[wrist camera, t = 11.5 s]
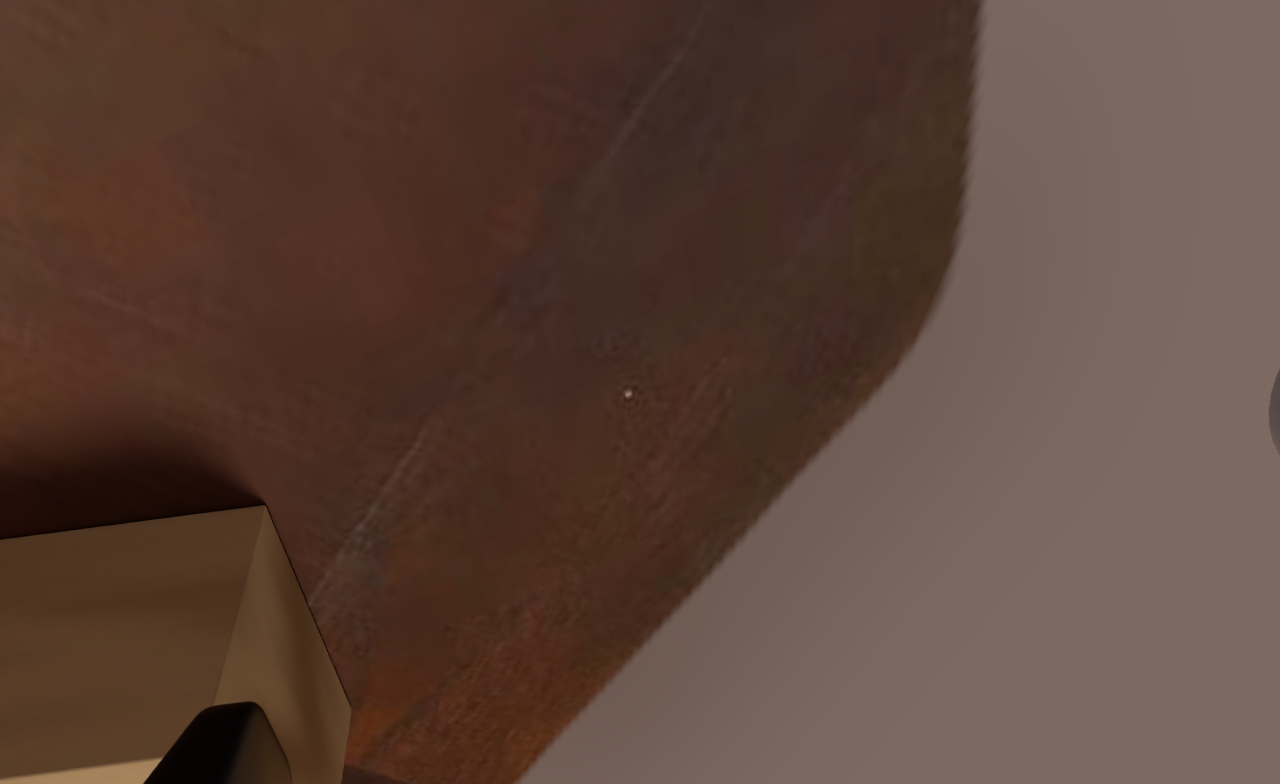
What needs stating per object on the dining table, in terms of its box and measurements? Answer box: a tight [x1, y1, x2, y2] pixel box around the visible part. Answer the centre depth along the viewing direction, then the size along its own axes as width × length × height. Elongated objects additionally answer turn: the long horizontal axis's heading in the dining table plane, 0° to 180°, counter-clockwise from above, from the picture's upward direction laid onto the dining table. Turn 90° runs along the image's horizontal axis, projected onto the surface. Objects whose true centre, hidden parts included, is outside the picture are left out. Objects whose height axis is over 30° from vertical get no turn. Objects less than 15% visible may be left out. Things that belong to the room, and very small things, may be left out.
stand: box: [0, 505, 352, 784], centre depth 23 cm, size 7×6×6 cm
